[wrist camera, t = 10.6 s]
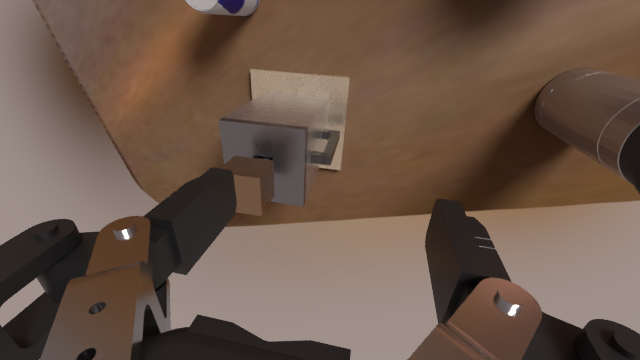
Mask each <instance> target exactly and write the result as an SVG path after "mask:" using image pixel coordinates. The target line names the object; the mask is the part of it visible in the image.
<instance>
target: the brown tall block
mask: <svg viewBox="0 0 640 360" xmlns="http://www.w3.org/2000/svg"><path fill="white" fill-rule="evenodd" d="M220 169H227V170H231V171H232V173H233V176H234V184H235V192H236V199H237V207H236V212H237V213H243V214H250V215H256V216H263V214H264V212H265V211H266V209H267V207H268V206H269V204H270V202H271V201H272V199H273V197H274V196H275V195H274V163H273V158H271V157H264V158H263V159H257V158H249V157H241V156H233V157H232V158H231V159H230V160H229V161H228V162H226V163H225V164H224V165H223V166H222V167H221V168H220Z"/></svg>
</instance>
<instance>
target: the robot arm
mask: <svg viewBox="0 0 640 360" xmlns="http://www.w3.org/2000/svg"><path fill="white" fill-rule="evenodd" d="M534 114H535V119H536V121H537V122H538V124H539V125H540V126H541V127H542V128H544V129H545V130H547V131H549V132H550V133H552V134H553V135H555V136H556V137H558V138H559V139H561V140H562V141H564V142H566V143H567V144H569V145H570V146H572V147H574V148H575V149H577V150H578V151H580V152H582V153H583V154H585V155H586V156H588V157H590V158H591V159H593V160H594V161H596V162H598V163H599V164H601V165H602V166H604V167H606V168H607V169H609V170H611V171H612V172H614V173H615V174H617V175H619V176H620V177H622V178H623V179H625V180H627V181H628V182H630V183H631V184H633V185H634V186H635V188H636V190H637V191H638V193H639V194H640V79H637V78H633V77H628V76H623V75H618V74H614V73H609V72H605V71H600V70H595V69H588V68H581V69H574V70H571V71H567V72H565V73H563V74H561V75H559V76H557V77H556V78H554V79H553V80H551V81H550V82H549V83H548V84H547V85H546V86H545V87H544V88H543V90H542V91H541V92H540V94H539V96H538V97H537V99H536V103H535V106H534ZM236 207H237V199H236V192H235V184H234V176H233V173H232V171H231V170H227V169H220V168H210V169H209V170H208V171H207V172H205V173H204V174H203V175H202V176H200V177H198V178H196V179H194V180H191V181H189V182H187V183H185V184H184V185H183V186H181V187H180V188H179V189H178V190H177V191H175V192H174V193H173V194H171V195H170V197H167V198H166V199H165V200H164V201H162V202H161V203H160V204H159V205H157V206H156V207H155V208H153V209H152V210H151V211H150V212H148V213H147V214H146V215H145V216H129V217H125V218H121V219H118V220H115V221H113V222H111V223H109V224H108V225H106V226H105V227H104V228H103V229H101V231H100V232H85V233H79V231H78V229H77V227H76V225H75V223H74V222H73V221H71V220H68V219H57V220H51V221H47V222H43V223H40V224H38V225H36V226H33V227H31V228H29V229H27V230H25V231H24V232H22V233H20V234H19V235H17V236H15V237H14V238H12V239H10V240H9V241H7V242H5V243H4V244H2V245H1V246H0V307H1V306H2V304H3V303H4V302H5V301H7V300H8V299H9V298H10V297H12V296H13V295H14V294H16V293H17V292H18V291H19V290H21V289H22V288H23V287H25V286H26V285H27V284H28V283H30V282H31V281H33V280H34V279H35V278H37V279H38V281H39V282H40V284H41V285H42V287H43V289H44V290H45V292H44V293H43V294H42V295H41V296H40V297H38V298H37V299H36V300H35V301H34V302H32V303H31V304H30V305H29V306H28V307H26V308H25V309H24V310H23V311H22V312H20V313H19V314H18V315H17V316H16V317H15V318H13V319H12V320H11V321H10V322H8V323H7V324H6V325H5V326H4V327H1V325H0V360H39V359H40V360H350V352H351V350H350V349H346V348H341V347H337V346H333V345H328V344H324V343H320V342H315V341H311V340H310V341H281V342H280V341H279V342H268V341H264V340H262V339H261V338H259V337H257V336H255V335H254V334H252V333H250V332H248V331H247V330H244V329H243V328H241V327H240V326H238V325H236V324H234V323H232V322H228V321H223V320H219V319H215V318H210V317H206V316H201V315H197V316H196V318H195V319H194V321H193V322H192V324H191V326H190V327H185V328H178V329H174V330H171V323H170V283H169V279H168V277H169V275H170V274H171V273H172V272H175V273H179V274H184V275H187V273H188V272H189V271H190V270H191V268H192V267H193V266H194V265H195V263H196V262H197V261H198V260H199V258H200V257H201V256H202V255H203V253H204V252H205V251H206V250H207V249H208V247H209V246H210V245H211V244H212V242H213V241H214V240H215V239H216V237H217V236H218V235H219V234H220V232H221V231H222V229H224V227H225V226H226V225H227V224H228V222H229V221H230V220H231V219H232V217H233V216H234V214H235V212H236ZM425 248H426V253H427V260H428V266H429V272H430V278H431V284H432V289H433V295H434V301H435V307H436V313H437V319H438V325H437V326H436V327H435V328H434V329H433V330H432V331H431V333H430V334H429V335H428V336H427V337H426V338H425V340H424V341H423V342H422V343H421V344H420V345H419V347H418V348H417V349H416V350H415V352H413V354H412V355H411V356H410V357H409V358H408V359H407V360H640V334H638V333H637V332H635V331H633V330H631V329H630V328H628V327H626V326H623V325H621V324H618V323H616V322H613V321H609V320H604V319H594V320H591V321H589V322H588V323H587V325H586V326H585V327H584V328H583V329H581V328H579V327H576V326H574V325H572V324H569V323H567V322H564V321H562V320H559V319H557V318H554V317H552V316H550V315H548V314H545V313H543V312H542V310H541V307H540V306H539V304H538V302H537V301H536V300H535V298H533V296H532V295H531V294H530V293H528V292H527V291H526V290H525V289H523V288H522V287H520V286H518V285H516V284H515V283H512V282H511V280H510V278H509V276H508V274H507V272H506V270H505V268H504V266H503V263H502V261H501V259H500V257H499V255H498V253H497V251H496V250H495V247H494V245H493V243H492V241H491V240H490V236H489V234H488V232H487V230H486V228H485V227H484V226H483V225H482V224H481V223H480V222H479V221H478V220H477V219H475V218H474V217H467V216H466V214H465V212H464V209H463V207H462V204H461V202H459V201H453V200H445V199H437V200H436V202H435V205H434V208H433V212H432V215H431V219H430V222H429V226H428V229H427V233H426V241H425Z"/></svg>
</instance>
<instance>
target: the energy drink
mask: <svg viewBox="0 0 640 360" xmlns="http://www.w3.org/2000/svg"><path fill="white" fill-rule="evenodd" d="M185 1H186V2H187V3H188V4H189V5H190V6H191V7H192V8H194V9H195V10H197V11H199V12H201V13H204V14H217V15H233V16H248V15H251V14H252V13H254V12H255V10H256V9H257V7H258V5H259V0H185Z"/></svg>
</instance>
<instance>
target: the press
mask: <svg viewBox="0 0 640 360" xmlns="http://www.w3.org/2000/svg"><path fill="white" fill-rule="evenodd" d="M250 72H251V87H252V100H251V101H250V102H248V103H246V104H245V105H243V106H241V107H240V108H238V109H236V110H235V111H233V112H231V113H230V114H228V115H226V116H225V117H223V118H222V119H220V120H219V128H220V136H221V143H222V151H223V159H224V164H225V163H226V162H228V161H229V160H230V159H231V158H232V157H233V156H241V157H249V158H257V159H263V158H264V157H271V158H273V163H274V195H275V196H274V197H273V199H272V201H271V202H276V203H283V204H290V205H296V206H304V204H305V201H306V199H307V196H308V194H309V192H310V189H311V187H312V184H313V182H314V179H315V177H316V174H317V172H318V170H319V168H326V169H334V170H341V166H342V157H343V147H344V137H345V127H346V117H347V107H348V97H349V87H350V77H351V76H344V75H333V74H321V73H309V72H297V71H285V70H273V69H262V68H252V69H250Z"/></svg>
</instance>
